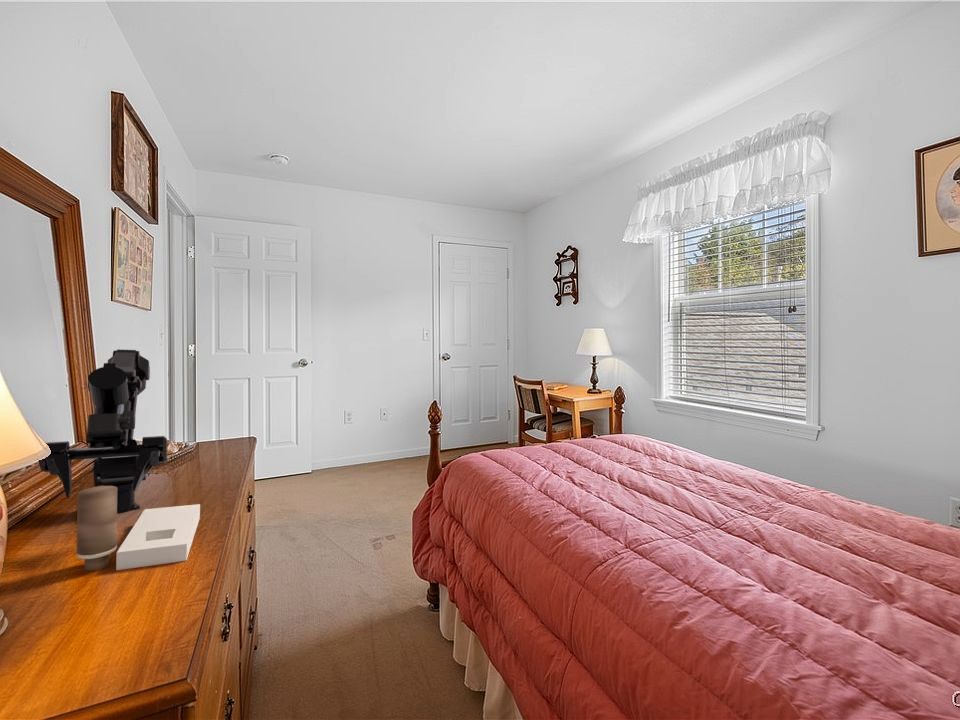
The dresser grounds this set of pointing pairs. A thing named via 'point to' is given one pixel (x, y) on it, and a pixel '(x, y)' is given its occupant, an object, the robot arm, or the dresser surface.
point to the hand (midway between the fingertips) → (101, 493)
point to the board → (159, 537)
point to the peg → (96, 526)
